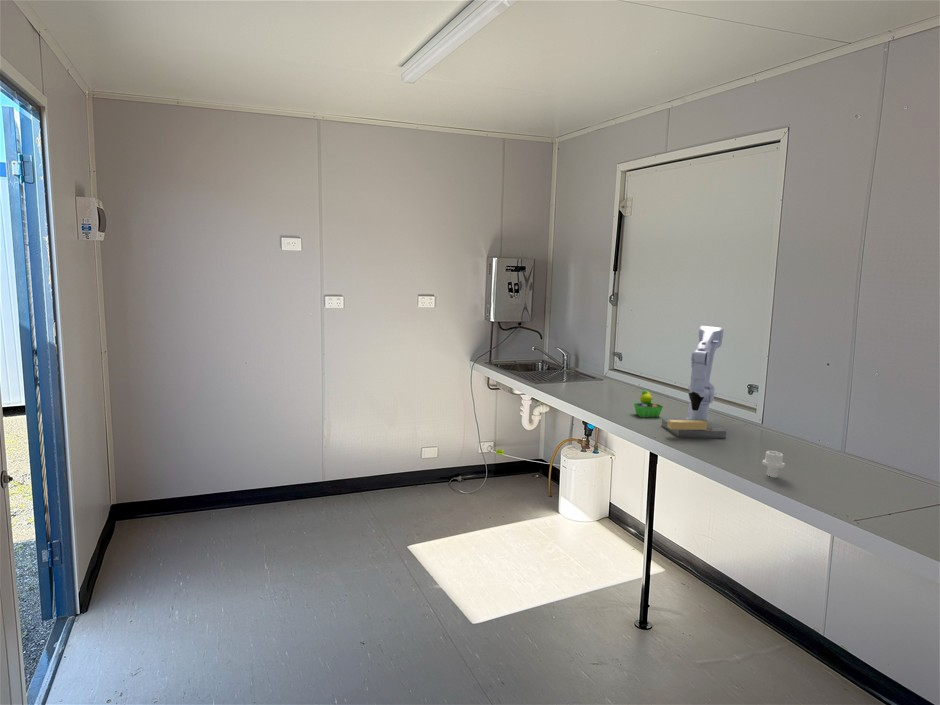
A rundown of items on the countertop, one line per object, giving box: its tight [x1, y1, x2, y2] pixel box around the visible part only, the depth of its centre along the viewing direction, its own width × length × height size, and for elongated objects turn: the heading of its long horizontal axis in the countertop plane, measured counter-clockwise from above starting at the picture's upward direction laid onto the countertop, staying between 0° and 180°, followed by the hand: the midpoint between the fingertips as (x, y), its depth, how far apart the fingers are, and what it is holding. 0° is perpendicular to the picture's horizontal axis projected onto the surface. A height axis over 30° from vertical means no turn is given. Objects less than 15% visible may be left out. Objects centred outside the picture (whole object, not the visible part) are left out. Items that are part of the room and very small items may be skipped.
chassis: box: [661, 418, 727, 439], centre depth 266 cm, size 18×20×4 cm
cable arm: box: [667, 419, 713, 430], centre depth 257 cm, size 18×4×3 cm, turn 96°
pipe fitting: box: [761, 450, 786, 478], centre depth 213 cm, size 6×7×8 cm
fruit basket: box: [633, 389, 664, 418], centre depth 291 cm, size 11×9×11 cm
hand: (694, 410), depth 269 cm, fingers closed
